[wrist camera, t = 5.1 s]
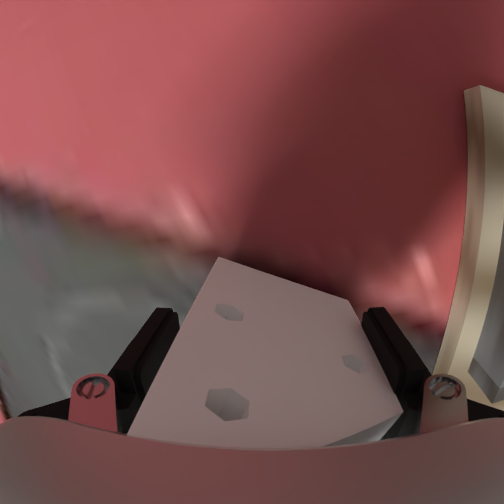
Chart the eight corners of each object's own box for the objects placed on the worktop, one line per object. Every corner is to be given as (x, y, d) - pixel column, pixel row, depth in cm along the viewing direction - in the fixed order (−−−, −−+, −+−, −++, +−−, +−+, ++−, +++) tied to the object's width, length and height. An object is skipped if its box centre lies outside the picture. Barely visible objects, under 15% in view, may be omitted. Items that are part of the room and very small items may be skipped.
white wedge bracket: (92, 236, 10) (104, 483, 3) (310, 270, 15) (450, 385, 8) (82, 320, 11) (111, 539, 4) (284, 331, 16) (393, 453, 9)
